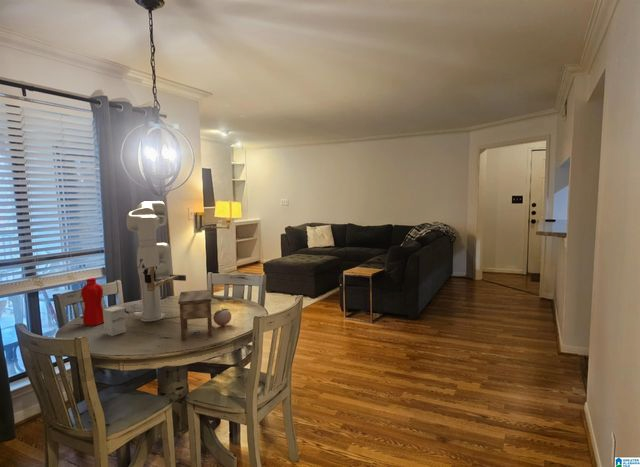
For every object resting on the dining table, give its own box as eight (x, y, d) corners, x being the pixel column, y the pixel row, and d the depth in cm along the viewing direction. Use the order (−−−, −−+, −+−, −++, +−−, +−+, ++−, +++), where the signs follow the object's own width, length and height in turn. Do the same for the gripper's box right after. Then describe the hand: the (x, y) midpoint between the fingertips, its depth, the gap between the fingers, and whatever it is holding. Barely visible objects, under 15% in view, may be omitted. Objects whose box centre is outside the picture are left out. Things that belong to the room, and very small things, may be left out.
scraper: (157, 291, 183) (156, 268, 181) (141, 290, 185) (139, 267, 183) (186, 280, 204) (184, 259, 203) (171, 279, 207) (170, 258, 205)
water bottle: (93, 319, 221) (89, 275, 218) (108, 321, 217) (104, 277, 214) (78, 325, 212) (74, 279, 209) (93, 327, 208) (89, 280, 206)
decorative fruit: (222, 330, 200) (221, 311, 199) (211, 327, 204) (210, 309, 203) (235, 325, 208) (234, 306, 207) (224, 322, 212) (223, 304, 211)
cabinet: (180, 341, 187) (178, 301, 185) (182, 328, 205) (180, 291, 203) (213, 337, 191) (211, 298, 189) (212, 325, 209) (211, 289, 207)
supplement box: (112, 336, 194) (110, 311, 193) (104, 333, 198) (102, 309, 197) (126, 331, 201) (124, 307, 199) (118, 329, 205) (116, 305, 203)
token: (190, 335, 195) (190, 333, 195) (190, 332, 199) (190, 330, 199) (199, 334, 196) (199, 332, 196) (200, 331, 200) (199, 329, 200)
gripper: (152, 240, 191) (154, 277, 193) (128, 245, 175) (131, 285, 178) (166, 240, 189) (168, 278, 191) (142, 245, 174) (145, 286, 176)
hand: (150, 281), depth 184 cm, fingers closed on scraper
